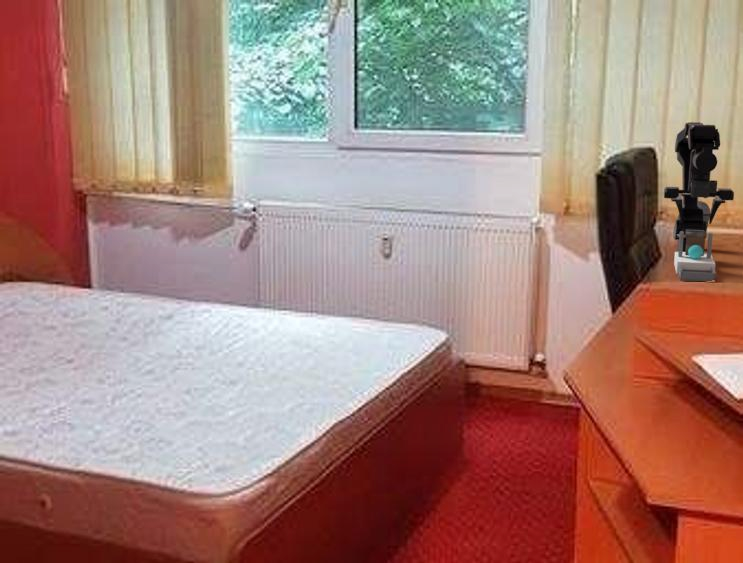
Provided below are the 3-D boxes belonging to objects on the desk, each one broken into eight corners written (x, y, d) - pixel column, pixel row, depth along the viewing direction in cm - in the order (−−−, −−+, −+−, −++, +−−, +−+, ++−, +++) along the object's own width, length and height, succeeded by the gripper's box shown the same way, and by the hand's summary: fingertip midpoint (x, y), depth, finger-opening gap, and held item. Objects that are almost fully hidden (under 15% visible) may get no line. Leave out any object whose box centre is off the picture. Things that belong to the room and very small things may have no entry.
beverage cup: (709, 251, 298) (714, 188, 294) (685, 250, 299) (690, 188, 295) (706, 247, 305) (711, 186, 301) (683, 246, 306) (687, 186, 302)
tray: (678, 274, 261) (679, 265, 261) (712, 276, 259) (713, 267, 258) (680, 280, 253) (680, 271, 252) (715, 282, 250) (716, 273, 250)
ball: (687, 257, 268) (688, 243, 267) (701, 258, 267) (702, 244, 266) (688, 259, 264) (689, 245, 263) (702, 260, 263) (703, 246, 262)
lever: (683, 252, 273) (685, 229, 272) (703, 253, 271) (705, 230, 270) (684, 255, 268) (686, 232, 267) (704, 256, 266) (706, 232, 265)
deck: (674, 263, 278) (676, 227, 275) (709, 264, 275) (712, 229, 273) (676, 274, 262) (679, 236, 259) (714, 276, 259) (717, 238, 257)
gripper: (666, 170, 260) (663, 226, 264) (738, 172, 256) (733, 229, 259) (665, 167, 271) (661, 220, 274) (733, 169, 266) (729, 223, 269)
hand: (696, 223), depth 269 cm, fingers open, 7 cm apart
